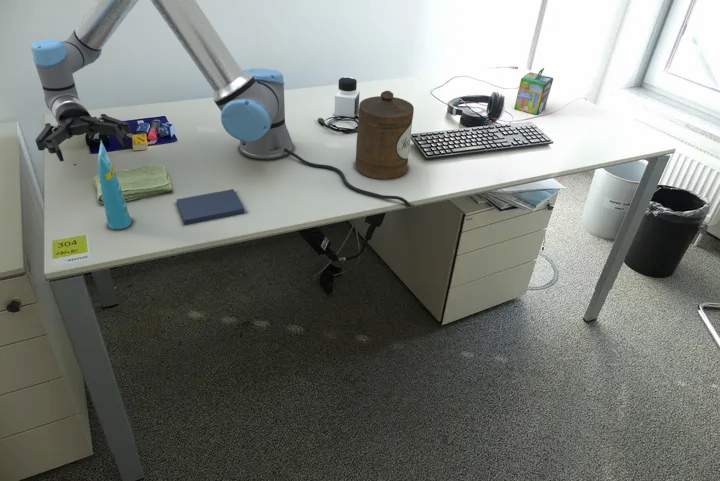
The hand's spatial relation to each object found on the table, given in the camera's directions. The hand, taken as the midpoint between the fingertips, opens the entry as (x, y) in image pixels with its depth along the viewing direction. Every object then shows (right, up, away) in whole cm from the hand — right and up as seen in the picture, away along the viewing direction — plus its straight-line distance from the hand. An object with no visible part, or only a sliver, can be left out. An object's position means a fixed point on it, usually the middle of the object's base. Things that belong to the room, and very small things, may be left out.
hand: (93, 148), depth 117 cm
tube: (+5, -17, +2) cm, 18 cm away
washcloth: (+2, -7, +15) cm, 17 cm away
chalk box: (+122, +28, +74) cm, 146 cm away
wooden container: (+66, 0, +31) cm, 73 cm away
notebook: (+24, -13, +9) cm, 28 cm away
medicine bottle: (+55, +23, +63) cm, 87 cm away
